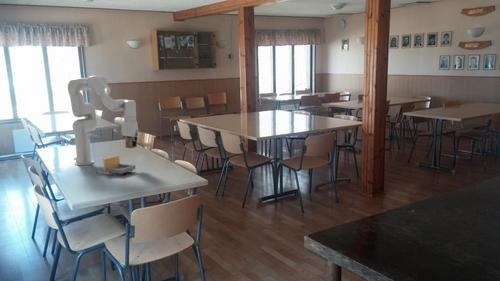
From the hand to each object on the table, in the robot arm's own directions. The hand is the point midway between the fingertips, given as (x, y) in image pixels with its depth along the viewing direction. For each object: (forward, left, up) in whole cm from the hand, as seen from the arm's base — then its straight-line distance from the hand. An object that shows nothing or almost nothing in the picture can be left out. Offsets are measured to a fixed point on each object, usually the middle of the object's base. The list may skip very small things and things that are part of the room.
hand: (131, 145), depth 272 cm
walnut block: (0, 0, -1) cm, 1 cm away
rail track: (-1, -14, -15) cm, 21 cm away
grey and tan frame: (+2, -14, -15) cm, 21 cm away
